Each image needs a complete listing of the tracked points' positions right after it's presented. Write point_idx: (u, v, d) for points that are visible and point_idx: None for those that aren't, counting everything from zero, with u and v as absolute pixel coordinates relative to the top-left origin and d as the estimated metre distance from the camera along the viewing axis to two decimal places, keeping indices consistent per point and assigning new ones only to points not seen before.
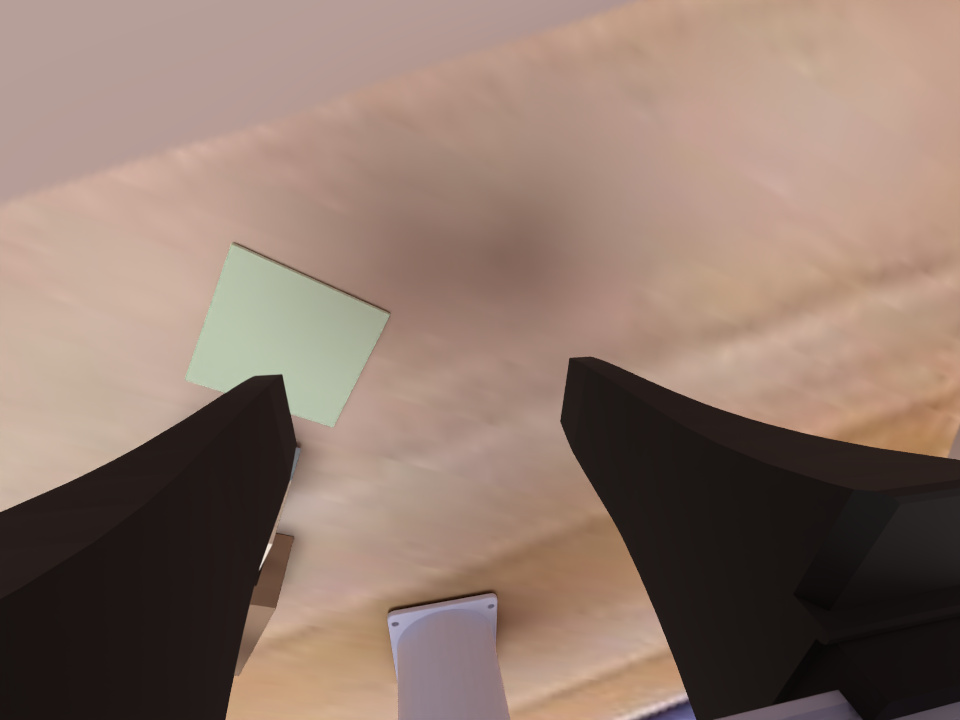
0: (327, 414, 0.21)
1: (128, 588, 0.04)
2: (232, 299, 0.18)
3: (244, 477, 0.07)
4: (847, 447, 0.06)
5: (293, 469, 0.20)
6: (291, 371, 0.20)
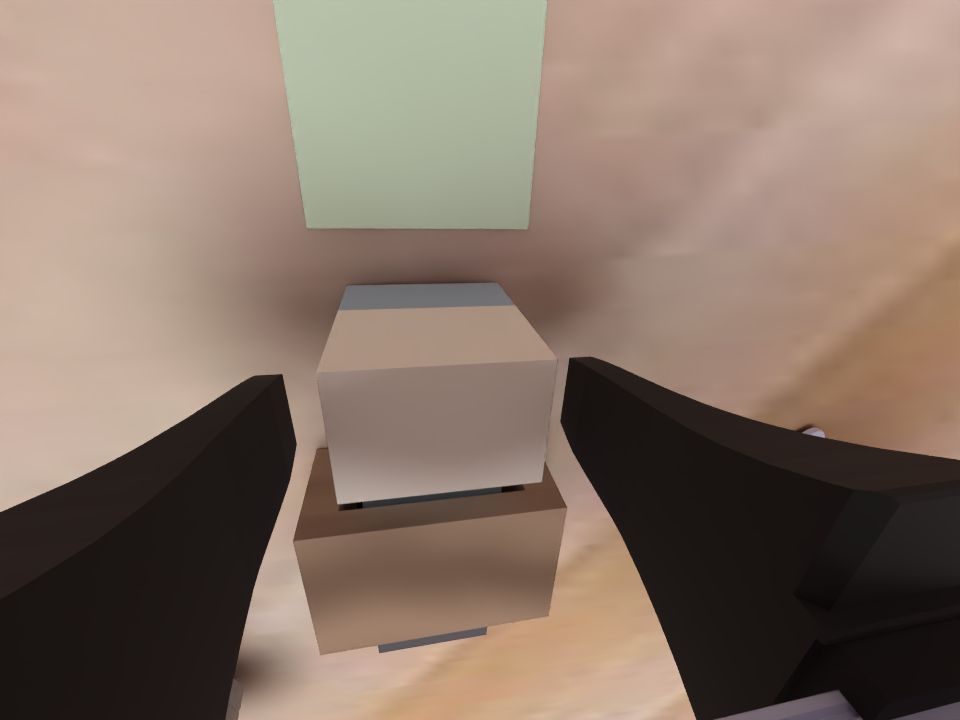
0: (512, 207, 0.13)
1: (128, 588, 0.04)
2: (307, 37, 0.11)
3: (244, 477, 0.07)
4: (847, 447, 0.06)
5: (506, 297, 0.13)
6: (438, 146, 0.12)
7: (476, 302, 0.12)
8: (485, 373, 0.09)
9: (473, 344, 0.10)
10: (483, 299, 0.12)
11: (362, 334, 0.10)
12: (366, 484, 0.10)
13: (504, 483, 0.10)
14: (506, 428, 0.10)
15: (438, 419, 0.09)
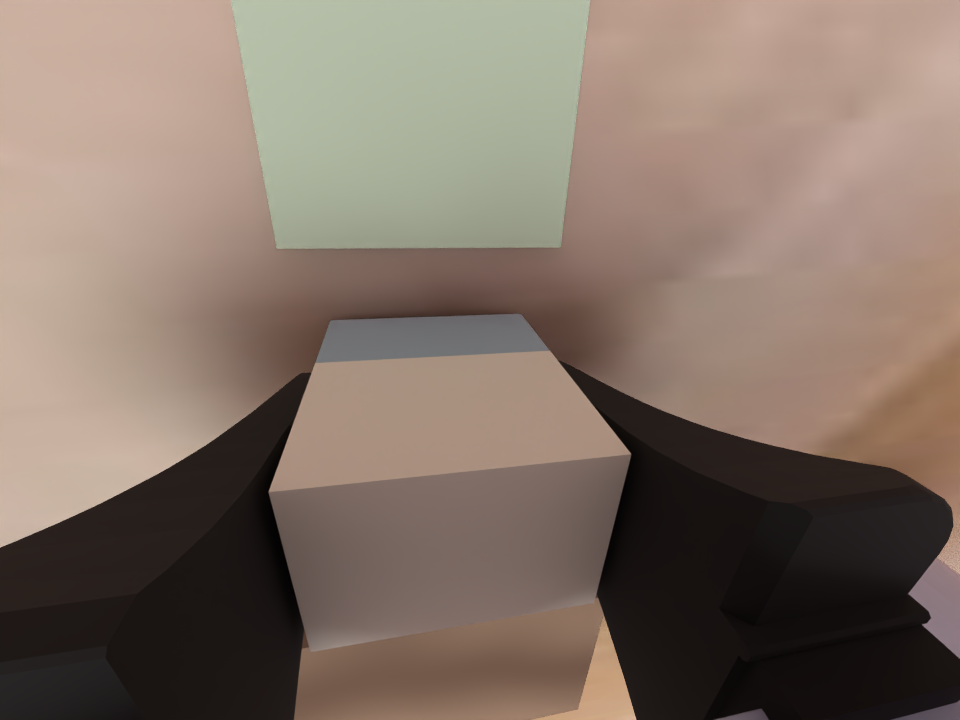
0: (542, 220, 0.10)
1: (232, 574, 0.04)
2: None
3: None
4: (785, 454, 0.06)
5: (536, 337, 0.10)
6: (448, 142, 0.09)
7: (499, 346, 0.09)
8: (526, 478, 0.06)
9: (503, 424, 0.07)
10: (507, 341, 0.10)
11: (345, 408, 0.07)
12: (351, 626, 0.07)
13: (544, 606, 0.08)
14: (551, 545, 0.07)
15: (456, 540, 0.06)
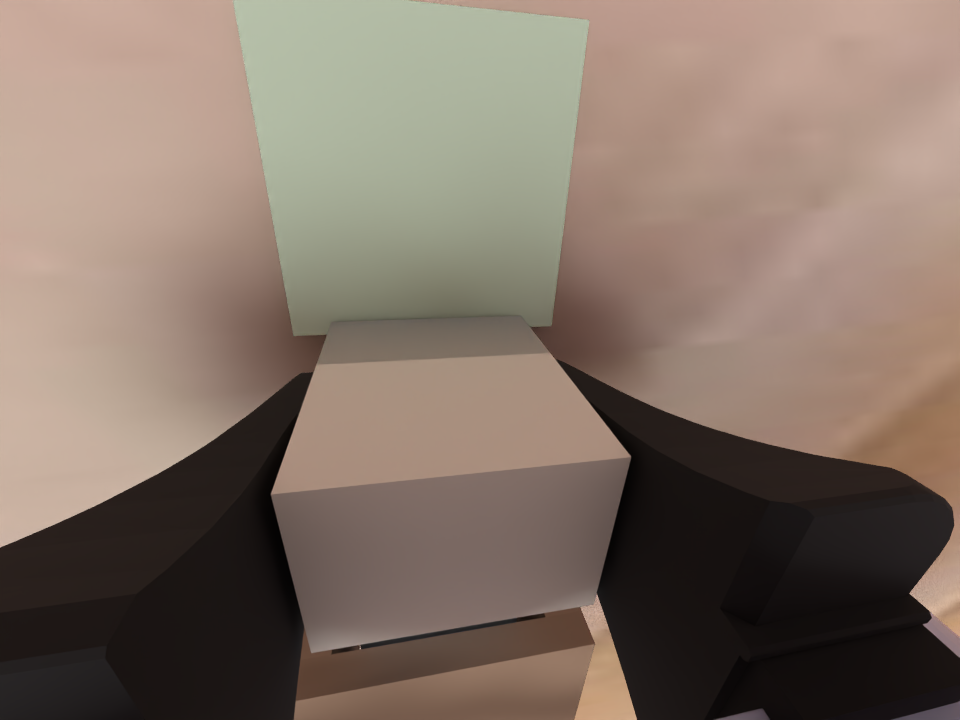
0: (534, 304, 0.11)
1: (232, 574, 0.04)
2: (292, 128, 0.09)
3: None
4: (785, 454, 0.06)
5: (536, 339, 0.10)
6: (449, 242, 0.10)
7: (499, 349, 0.09)
8: (527, 481, 0.06)
9: (503, 427, 0.07)
10: (507, 343, 0.10)
11: (346, 410, 0.07)
12: (352, 627, 0.07)
13: (544, 608, 0.08)
14: (550, 547, 0.07)
15: (457, 542, 0.06)
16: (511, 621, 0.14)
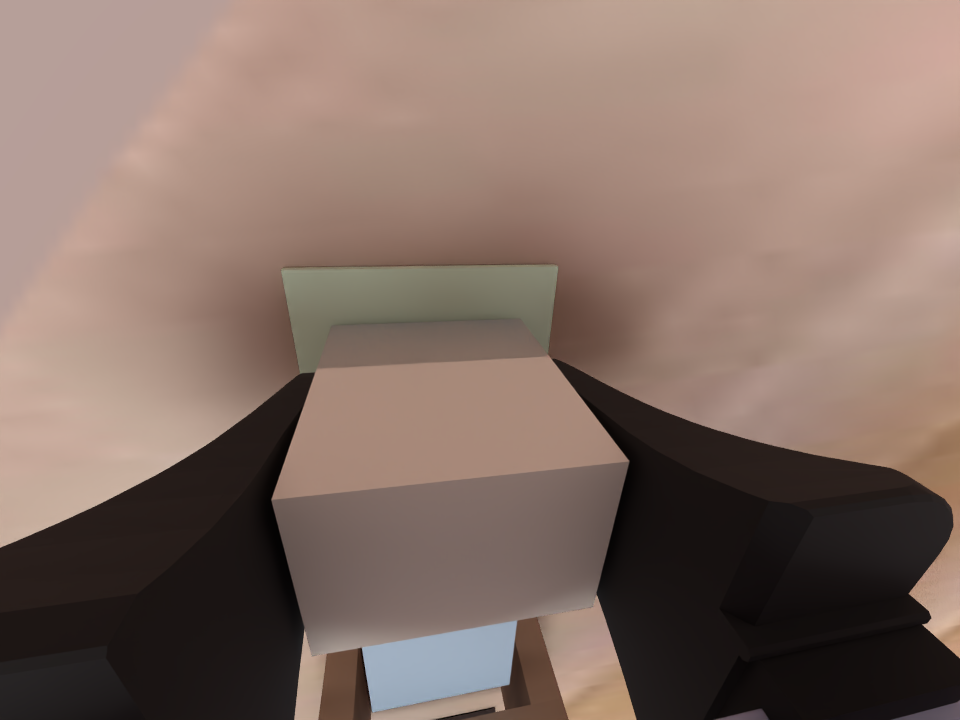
0: None
1: (233, 574, 0.04)
2: None
3: None
4: (785, 454, 0.06)
5: (536, 342, 0.10)
6: None
7: (499, 352, 0.09)
8: (526, 485, 0.06)
9: (502, 431, 0.07)
10: (507, 347, 0.10)
11: (346, 415, 0.07)
12: (352, 630, 0.07)
13: (543, 610, 0.08)
14: (549, 551, 0.07)
15: (455, 546, 0.06)
16: (511, 622, 0.14)
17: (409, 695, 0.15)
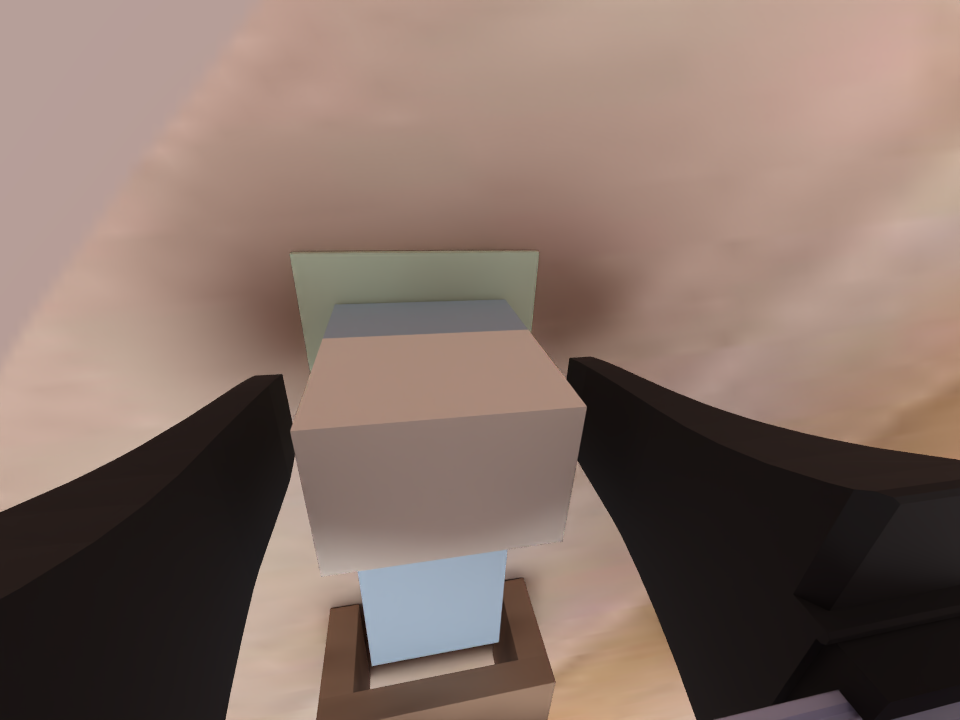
0: None
1: (128, 588, 0.04)
2: None
3: (244, 477, 0.07)
4: (847, 447, 0.06)
5: (517, 318, 0.11)
6: None
7: (484, 325, 0.11)
8: (499, 425, 0.07)
9: (482, 385, 0.08)
10: (491, 322, 0.11)
11: (349, 373, 0.08)
12: (356, 553, 0.08)
13: (519, 544, 0.09)
14: (522, 486, 0.08)
15: (442, 479, 0.08)
16: (499, 581, 0.15)
17: (406, 650, 0.16)
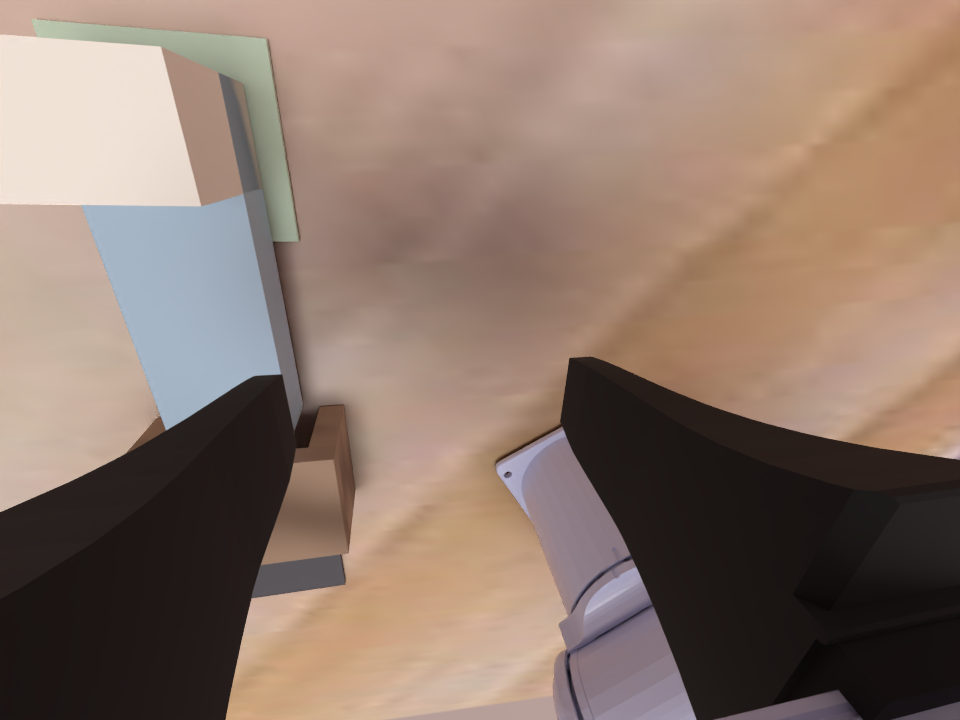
0: (281, 225, 0.17)
1: (128, 588, 0.04)
2: None
3: (244, 477, 0.07)
4: (847, 447, 0.06)
5: (224, 75, 0.13)
6: None
7: None
8: (85, 54, 0.09)
9: None
10: None
11: None
12: (2, 182, 0.10)
13: (163, 205, 0.11)
14: (135, 130, 0.10)
15: (53, 107, 0.10)
16: (273, 359, 0.17)
17: None
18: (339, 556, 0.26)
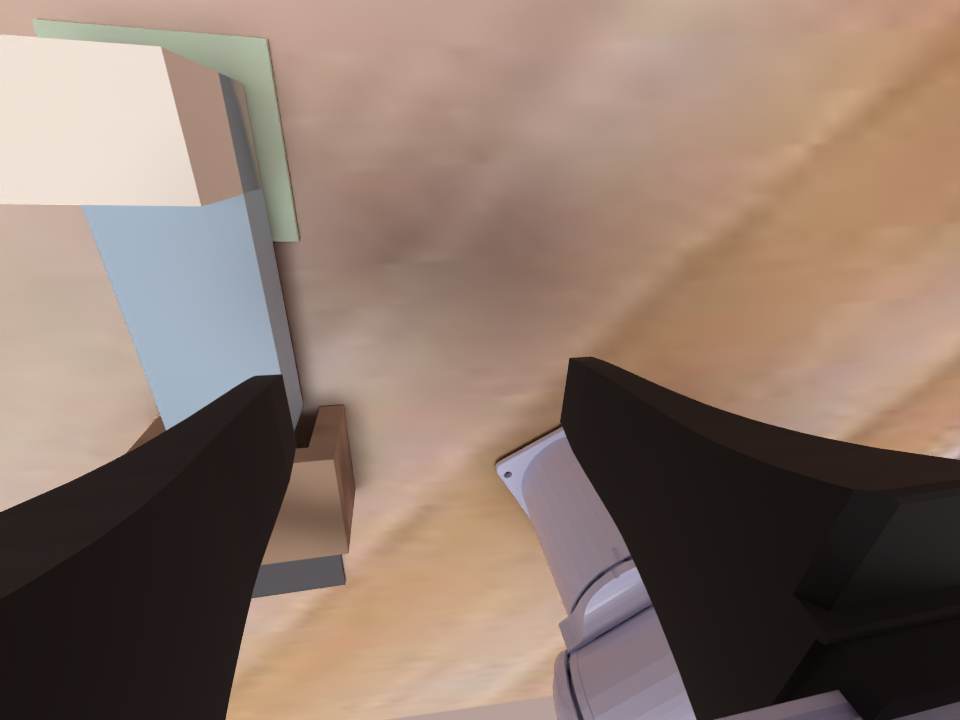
0: (281, 225, 0.17)
1: (128, 588, 0.04)
2: None
3: (244, 477, 0.07)
4: (847, 447, 0.06)
5: (224, 75, 0.13)
6: None
7: None
8: (85, 54, 0.09)
9: None
10: None
11: None
12: (2, 182, 0.10)
13: (163, 205, 0.11)
14: (135, 130, 0.10)
15: (53, 107, 0.10)
16: (273, 359, 0.17)
17: None
18: (339, 556, 0.26)
